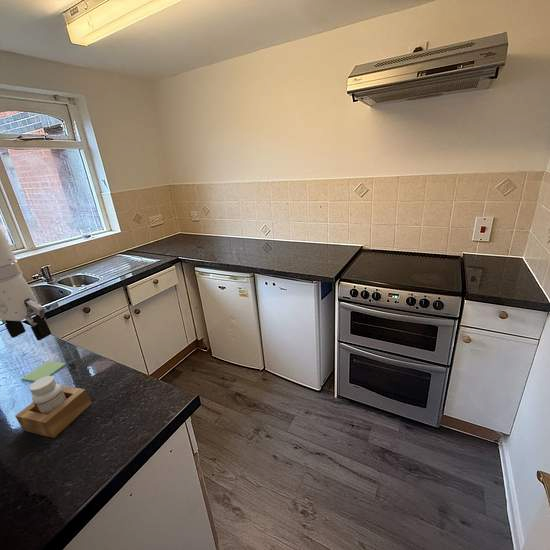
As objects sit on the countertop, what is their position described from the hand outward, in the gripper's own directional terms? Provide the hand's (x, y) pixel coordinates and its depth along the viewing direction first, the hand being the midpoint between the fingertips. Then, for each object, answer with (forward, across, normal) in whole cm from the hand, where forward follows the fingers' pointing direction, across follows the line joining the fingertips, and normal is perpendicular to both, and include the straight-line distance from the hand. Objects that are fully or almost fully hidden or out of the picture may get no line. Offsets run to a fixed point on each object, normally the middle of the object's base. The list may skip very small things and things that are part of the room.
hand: (31, 335), depth 75 cm
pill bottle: (+22, +3, -4) cm, 23 cm away
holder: (+22, +3, -4) cm, 23 cm away
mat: (+22, -22, +10) cm, 33 cm away
